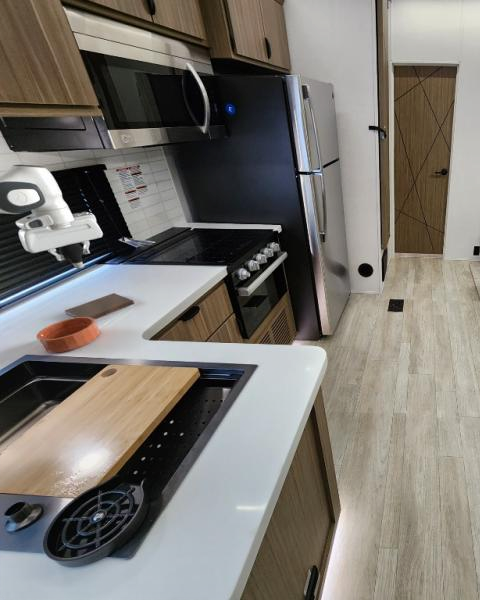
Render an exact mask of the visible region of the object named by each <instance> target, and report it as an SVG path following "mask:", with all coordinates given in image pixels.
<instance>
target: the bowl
mask: <svg viewBox="0 0 480 600" xmlns="http://www.w3.org/2000/svg"><path fill="white" fill-rule="evenodd" d="M100 334H101V330H100V328H99V326H98V324H97V322H96V319H93V318H91V317H77V318H73V317H71V318H67V319H64V320H60V321H58V322H55V323H52V324H50V325H48V326H46V327H45V328H42V329H41V330H40V331H38V333H37V334H36V340H37V341H38V342H39V344H40V346H41V347H42V349H43V351H45V352H47V353H62V352H68V351H71V350H75V349H78V348H81V347H83V346H85V345H88V344H90V343H91V342H92V341H95V340H96V339H97V338H98V337H99V336H100Z"/></svg>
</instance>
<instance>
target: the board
mask: <svg viewBox="0 0 480 600" xmlns="http://www.w3.org/2000/svg"><path fill="white" fill-rule="evenodd" d="M134 304H135V302H134V300H133V299H130V298H128V297H125V296H123V295H120V294H117V293H115V292H112V293H110V294H107V295H104V296H101V297H99V298H96V299H93V300H90V301H88V302H85V303H81V304H79V305H76V306H73V307H71V308H68V309H65V310H64V312H65V314H66V315H68V316H69V317H71V318H77V317H91V318H93V319H94V320H97V319H99V318H102V317H104V316H107V315H109V314H111V313H114V312H116V311H120V310H122V309H125V308H127V307H129V306H131V305H134Z"/></svg>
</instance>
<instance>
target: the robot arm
mask: <svg viewBox="0 0 480 600" xmlns="http://www.w3.org/2000/svg"><path fill="white" fill-rule="evenodd" d="M30 211H31V214H28V215H26V216H24V217H22V218H20V219H18V220H16V221H15V225H16V226H17V227H18V228H19V230H18V238H19V240H20V242H21V245H22V247H23V248H24V250H25V251H26V252H29V253H31V254H35V253H36V254H37V253H40V252H44V251H47V252H48V253H50V254H51V255H52V256H55V258H56V260H57V261H59V262H62V261H65V260H66V257H64V256H63V255H62V254H61V253H57V249H59V247H62V246H66V245H69V244H75V243H78V244H79V243H81V244H83V254H82V255H88V254H91V252H90V250H89V249H90V245H91V243H90V241H91V240H96V239H100V238H102V237H103V235H104V233H103V231H102V229H101V227H100V225H99V224H98V222H97V218H96V215H94V214H93V213H92V212H88V211H82V212H76V213H72V211H71V209H70V207H69V205H68V204H67V202H66V201H65V200H64V198H63V193H62V190H61V188H60V186H59V184H58V182H57V180H56V179H55V177H54V176H53V174H52V173H51V171H50V170H48V168H46V167H44V166H41V165H35V164H14V165H11V167H10V169H9V170H7V172H6V173H3V174H2V175H0V214H7V215H19V214H24V213H27V212H30Z"/></svg>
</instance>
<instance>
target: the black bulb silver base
mask: <svg viewBox="0 0 480 600" xmlns="http://www.w3.org/2000/svg"><path fill="white" fill-rule="evenodd" d="M83 249H84V247H82V246H81V244H79V243H75V244H69V245H66V246H62V247H58V251H59V254H62V255H63V256H64V258H65V259H68V260H69V262H70V263H71V264H72V265H73V266H74V268H75V269H77V270H82V269H83V268H85V265H84V263H83V255H84V254H83Z"/></svg>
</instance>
